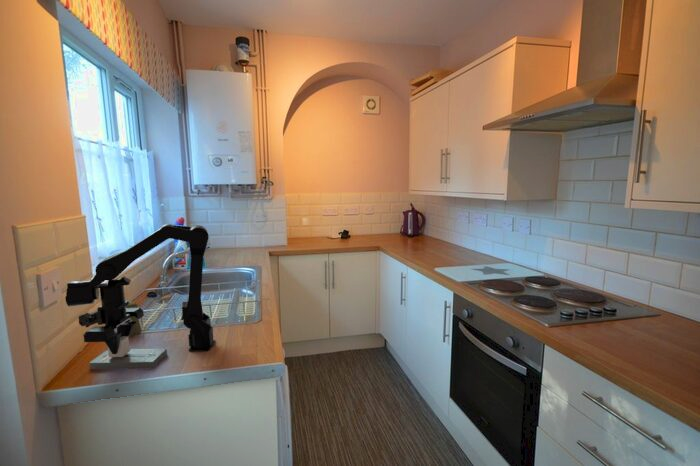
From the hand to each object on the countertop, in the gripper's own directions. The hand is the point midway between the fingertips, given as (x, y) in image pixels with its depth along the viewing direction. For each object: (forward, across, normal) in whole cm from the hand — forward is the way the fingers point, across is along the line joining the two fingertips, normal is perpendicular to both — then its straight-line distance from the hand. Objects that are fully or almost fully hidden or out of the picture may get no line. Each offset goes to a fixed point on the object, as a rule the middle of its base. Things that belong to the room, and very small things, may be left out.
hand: (119, 350), depth 104 cm
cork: (+4, -21, -9) cm, 23 cm away
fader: (+1, 0, 0) cm, 1 cm away
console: (+4, 0, +3) cm, 5 cm away
